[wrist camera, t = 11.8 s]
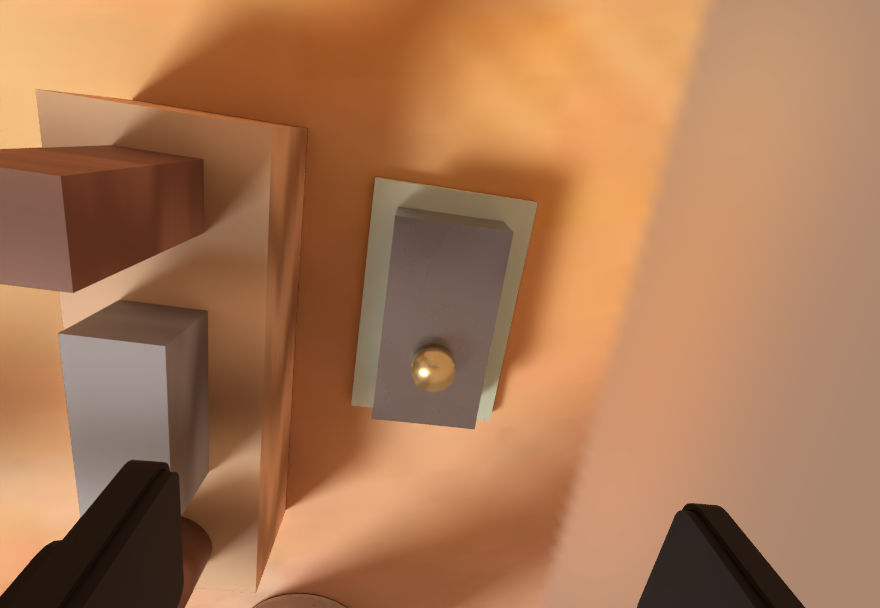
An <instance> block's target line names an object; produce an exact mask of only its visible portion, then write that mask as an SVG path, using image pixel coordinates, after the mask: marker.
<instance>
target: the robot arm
mask: <svg viewBox="0 0 880 608" xmlns="http://www.w3.org/2000/svg"><path fill="white" fill-rule="evenodd" d="M183 586H184V573H183V550H182V528H181V506H180V483H179V474H178V473H177V472H170V468H169V465H168V463H166V462H156V461H144V460H130V461H128V462H127V463H126V464H125V465H124V466H123V467H122V468H121V469H120V471H119V472H118V473H117V474H116V475H115V477H114V478H113V479H112V480H111V481H110V483H109V484H108V485H107V486H106V488H105V489H104V490H103V491H102V492H101V494H100V495H99V496H98V497H97V498H96V500H95V501H94V502H93V503H92V505H91V506H90V507H89V508H88V509H87V511H86V512H85V513H84V514H83V516H82V517H81V518H80V519H79V520H78V522H77V523H76V524H75V525H74V526H73V528H72V529H71V530H70V531H69V533H68V534H67V535H66V536H65V537H64V539H63V540H58V541H53V542H51V543H50V544H48V545H46V546H45V547H44V548H43V549H42V550H41V551H40V552H39V553H38V554H37V555H36V556H35V557H34V558H33V559H32V560H31V561H30V563H29V564H28V565H27V566H26V567H25V568H24V570H23V571H22V572H21V573H20V574H19V575H18V577H17V578H16V579H15V580H14V581H13V582H12V584H11V585H10V586H9V587H8V588H7V590H6V591H5V592H4V593H3V594H2V595H1V597H0V608H177V607H178V605H179V602H180V599H181V596H182V592H183ZM637 608H805V607H804V606H803V605H802V603H801V602H800V601H799V600H798V599H797V597H796V596H795V595H794V594H793V592H792V591H791V590H790V589H789V587H788V586H787V585H786V584H785V583H784V581H783V580H782V579H781V578H780V577H779V575H778V574H777V573H776V572H775V570H773V568H772V567H771V565H770V564H769V563H768V562H767V561H766V559H765V558H764V557H763V556H762V554H761V553H760V552H759V551H758V550H757V548H756V547H755V546H754V545H753V543H752V542H751V541H750V540H749V539H748V538H747V536H746V535H745V534H744V532H743V531H742V530H741V529H740V528H739V526H738V525H737V524H736V523H735V522H734V520H733V519H732V518H731V517H730V515H729V514H728V513H727V512H726V511H725V510H724V509H723V508H722V507H720V506H717V505H706V504H694V503H691V504H687V505H685V506H684V508H683V509H682V511H678V512H677V513H676V515H675V517H674V519H673V522H672V524H671V527H670V529H669V531H668V534H667V536H666V539H665V541H664V543H663V546H662V548H661V550H660V553H659V555H658V558H657V560H656V562H655V565H654V567H653V570H652V572H651V574H650V577H649V579H648V581H647V584H646V586H645V589H644V591H643V593H642V596H641V598H640V600H639V603H638V606H637Z"/></svg>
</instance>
